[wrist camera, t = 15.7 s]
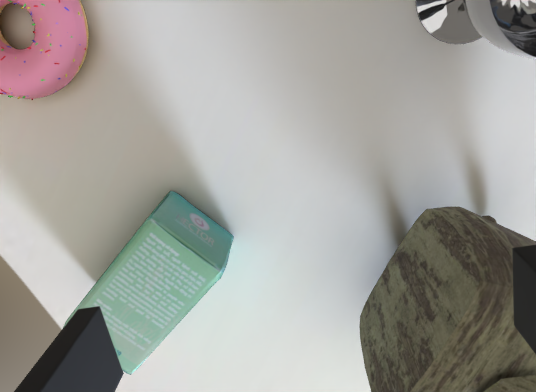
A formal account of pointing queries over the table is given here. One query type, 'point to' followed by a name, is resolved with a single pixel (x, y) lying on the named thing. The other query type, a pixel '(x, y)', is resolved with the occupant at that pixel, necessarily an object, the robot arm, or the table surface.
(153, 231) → the box
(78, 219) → the table surface
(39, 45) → the doughnut
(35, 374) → the robot arm
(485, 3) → the wine glass
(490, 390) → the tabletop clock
